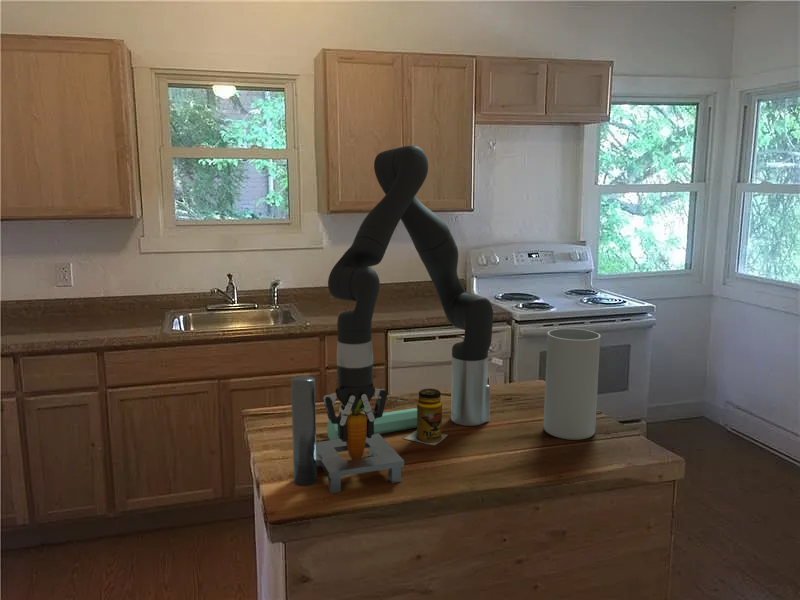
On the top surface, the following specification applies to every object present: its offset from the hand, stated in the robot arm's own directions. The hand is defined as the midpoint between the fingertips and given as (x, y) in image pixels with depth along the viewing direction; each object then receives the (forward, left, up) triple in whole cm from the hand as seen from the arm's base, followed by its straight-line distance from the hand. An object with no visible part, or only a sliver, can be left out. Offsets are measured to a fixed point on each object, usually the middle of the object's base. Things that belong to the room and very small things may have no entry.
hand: (355, 438), depth 141 cm
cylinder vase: (-57, -4, -8) cm, 58 cm away
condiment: (-22, -13, -8) cm, 27 cm away
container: (-12, -20, -8) cm, 25 cm away
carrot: (0, 0, -6) cm, 6 cm away
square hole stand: (+3, 0, -8) cm, 8 cm away
